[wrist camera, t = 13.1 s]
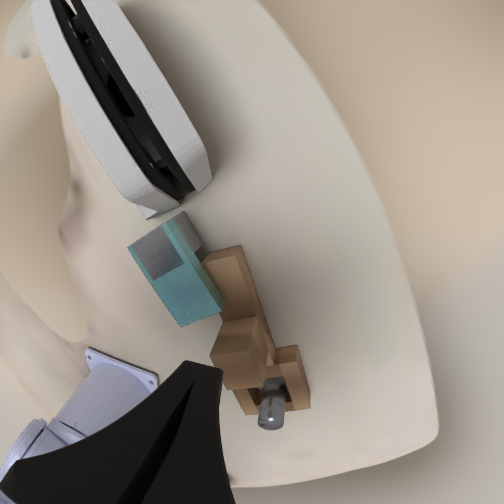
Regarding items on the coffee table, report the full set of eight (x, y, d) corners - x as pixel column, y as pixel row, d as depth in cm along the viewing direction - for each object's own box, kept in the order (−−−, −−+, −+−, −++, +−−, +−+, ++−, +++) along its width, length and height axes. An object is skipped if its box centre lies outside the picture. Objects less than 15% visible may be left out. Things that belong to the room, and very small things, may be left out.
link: (310, 392, 22) (310, 442, 17) (248, 400, 23) (238, 447, 18) (265, 238, 18) (254, 274, 13) (186, 258, 19) (153, 296, 14)
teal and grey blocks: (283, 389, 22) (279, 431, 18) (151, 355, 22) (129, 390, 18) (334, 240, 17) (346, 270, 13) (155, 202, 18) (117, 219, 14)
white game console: (61, 53, 14) (2, -7, 5) (111, 20, 15) (74, -57, 5) (154, 223, 18) (103, 248, 9) (214, 184, 18) (224, 165, 9)
